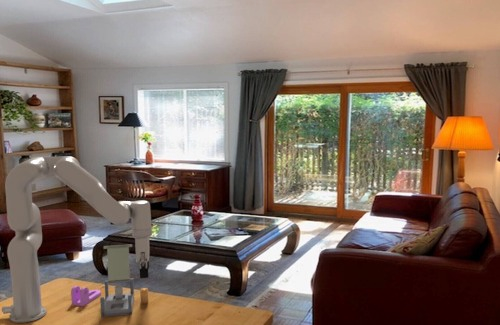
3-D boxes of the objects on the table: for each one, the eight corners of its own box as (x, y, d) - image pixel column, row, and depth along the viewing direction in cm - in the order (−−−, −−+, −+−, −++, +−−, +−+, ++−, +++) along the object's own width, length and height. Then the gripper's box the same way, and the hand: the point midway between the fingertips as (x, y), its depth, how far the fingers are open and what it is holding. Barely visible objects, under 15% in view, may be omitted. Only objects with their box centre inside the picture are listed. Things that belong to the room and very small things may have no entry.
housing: (101, 317, 167) (100, 295, 166) (105, 300, 181) (104, 280, 180) (131, 313, 169) (131, 292, 168) (134, 297, 184) (133, 278, 182)
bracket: (83, 306, 176) (82, 289, 175) (71, 304, 178) (70, 288, 177) (103, 293, 188) (102, 277, 188) (92, 291, 190) (91, 276, 189)
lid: (103, 246, 180) (103, 246, 181) (104, 284, 179) (104, 283, 180) (132, 244, 182) (132, 244, 183) (133, 281, 182) (133, 281, 183)
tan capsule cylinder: (140, 304, 177) (140, 291, 177) (140, 301, 180) (140, 288, 180) (148, 303, 178) (147, 290, 177) (148, 300, 181) (147, 287, 180)
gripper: (133, 227, 183) (136, 266, 185) (130, 239, 166) (134, 282, 169) (152, 225, 185) (154, 265, 187) (151, 237, 168) (154, 280, 170)
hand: (144, 273), depth 178 cm, fingers open, 9 cm apart
